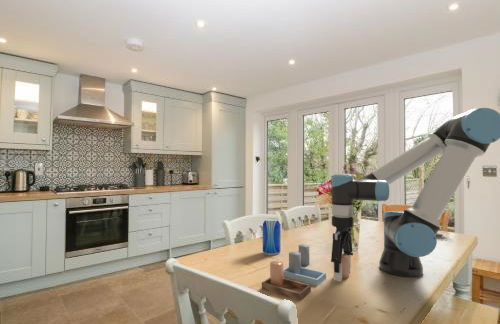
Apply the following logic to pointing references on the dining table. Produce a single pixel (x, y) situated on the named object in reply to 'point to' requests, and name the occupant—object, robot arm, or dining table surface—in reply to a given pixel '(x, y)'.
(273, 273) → the cylinder
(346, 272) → the cylinder
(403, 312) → the dining table surface
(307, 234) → the dining table surface
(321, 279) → the trough
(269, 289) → the trough
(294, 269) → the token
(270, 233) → the beer can
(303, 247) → the cylinder
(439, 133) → the robot arm
